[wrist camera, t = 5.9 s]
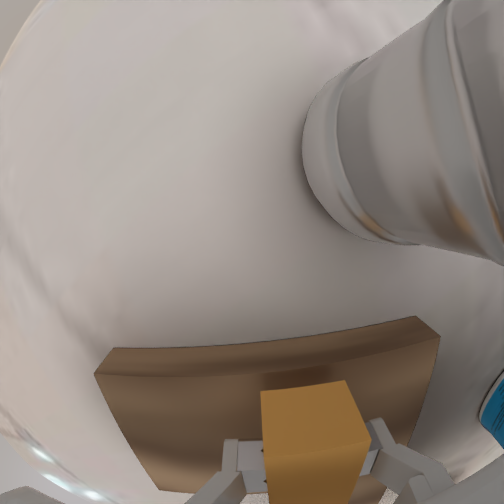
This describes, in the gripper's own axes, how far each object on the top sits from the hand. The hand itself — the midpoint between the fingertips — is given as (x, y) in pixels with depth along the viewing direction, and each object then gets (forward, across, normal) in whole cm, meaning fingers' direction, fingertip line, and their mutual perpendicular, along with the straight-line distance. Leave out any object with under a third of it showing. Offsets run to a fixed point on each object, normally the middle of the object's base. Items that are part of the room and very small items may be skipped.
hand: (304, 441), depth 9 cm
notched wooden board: (+4, +1, +10) cm, 11 cm away
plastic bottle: (+5, -4, -10) cm, 12 cm away
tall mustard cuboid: (+1, 0, 0) cm, 1 cm away
